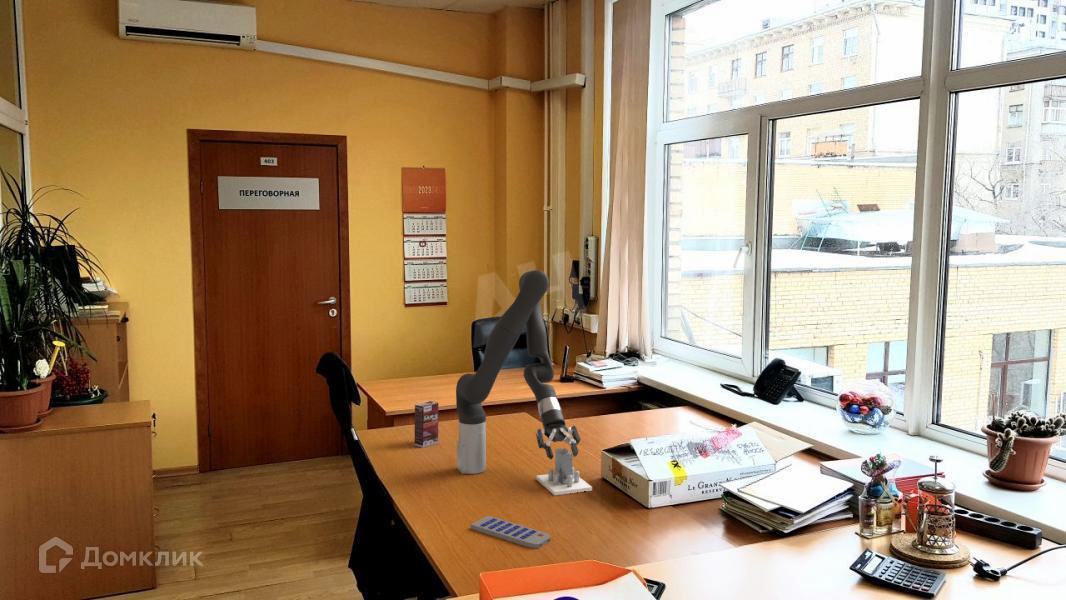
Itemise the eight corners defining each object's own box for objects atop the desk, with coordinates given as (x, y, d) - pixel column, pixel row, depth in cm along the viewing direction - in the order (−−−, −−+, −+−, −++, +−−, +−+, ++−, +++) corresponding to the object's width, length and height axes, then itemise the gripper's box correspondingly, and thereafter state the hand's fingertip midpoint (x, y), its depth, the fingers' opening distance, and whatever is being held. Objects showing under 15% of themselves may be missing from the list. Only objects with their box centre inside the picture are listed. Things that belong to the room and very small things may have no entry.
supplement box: (423, 448, 292) (422, 406, 290) (414, 445, 295) (413, 404, 293) (439, 443, 299) (439, 402, 297) (430, 440, 302) (430, 400, 300)
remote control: (488, 522, 225) (488, 514, 225) (552, 541, 212) (552, 533, 212) (470, 530, 218) (470, 523, 218) (535, 551, 205) (535, 543, 205)
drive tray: (554, 495, 245) (554, 481, 244) (536, 479, 259) (536, 465, 259) (592, 490, 249) (592, 476, 249) (571, 474, 264) (572, 461, 263)
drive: (562, 485, 251) (562, 454, 250) (554, 478, 256) (555, 449, 255) (572, 483, 252) (572, 453, 251) (564, 477, 258) (565, 448, 257)
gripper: (534, 409, 257) (546, 453, 248) (573, 406, 262) (587, 449, 253) (528, 421, 263) (540, 464, 254) (567, 417, 268) (580, 460, 259)
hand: (563, 456), depth 253 cm, fingers open, 8 cm apart
